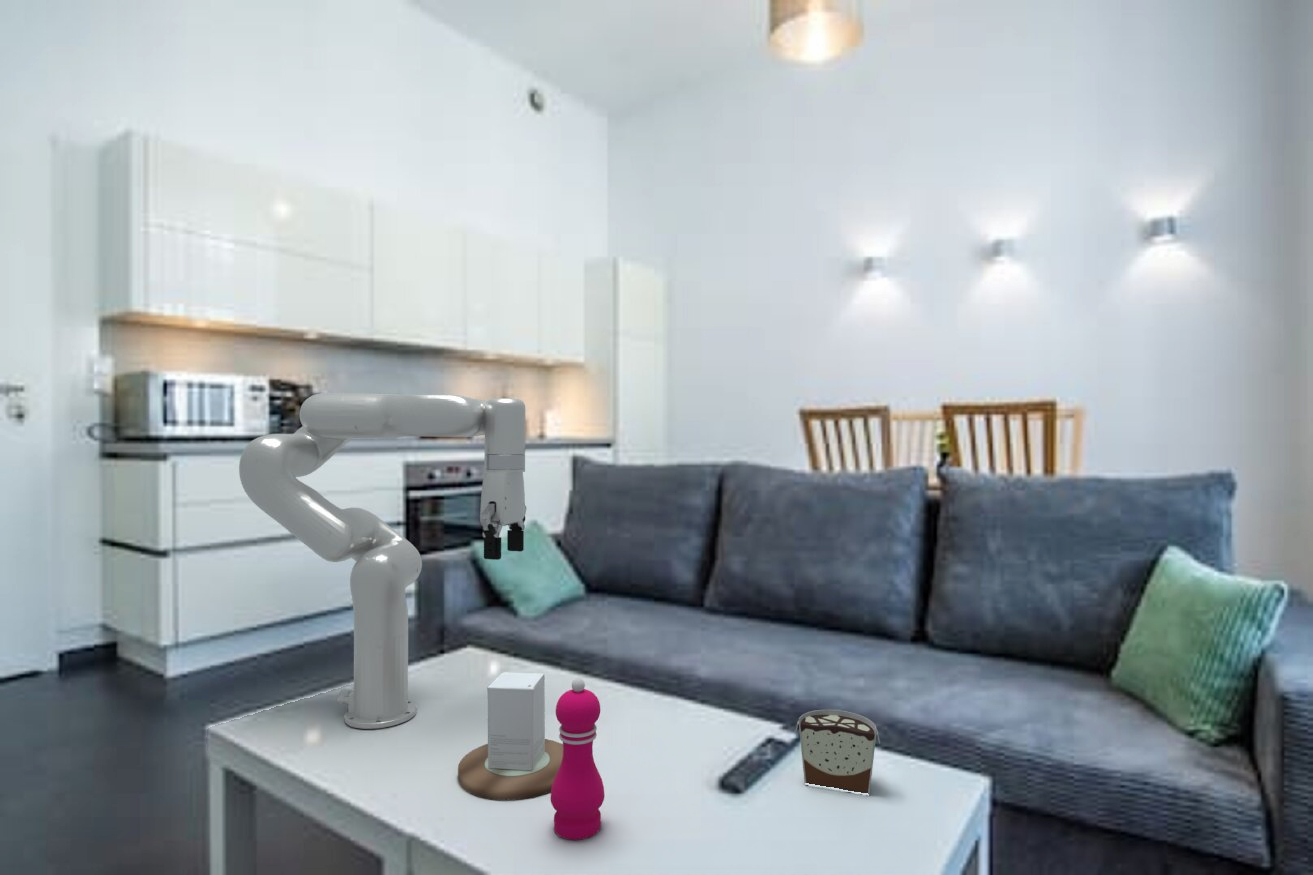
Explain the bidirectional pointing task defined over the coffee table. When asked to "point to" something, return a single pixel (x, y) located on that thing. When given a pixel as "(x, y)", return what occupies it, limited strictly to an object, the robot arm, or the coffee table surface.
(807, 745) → the food container
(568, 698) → the pepper mill
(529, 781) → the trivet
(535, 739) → the supplement box
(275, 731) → the coffee table surface
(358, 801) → the coffee table surface
